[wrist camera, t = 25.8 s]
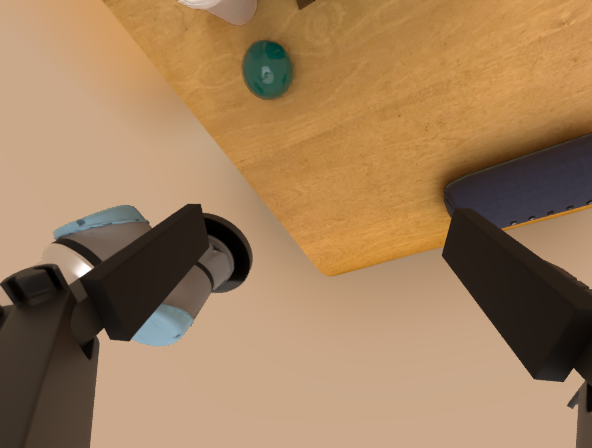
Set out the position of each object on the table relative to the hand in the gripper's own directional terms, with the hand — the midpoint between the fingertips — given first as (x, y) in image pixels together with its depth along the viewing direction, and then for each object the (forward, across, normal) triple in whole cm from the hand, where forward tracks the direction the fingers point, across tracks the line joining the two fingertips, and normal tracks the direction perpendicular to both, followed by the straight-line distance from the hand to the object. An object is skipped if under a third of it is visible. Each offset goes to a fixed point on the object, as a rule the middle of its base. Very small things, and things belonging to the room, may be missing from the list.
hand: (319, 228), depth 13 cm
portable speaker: (+35, +32, -6) cm, 48 cm away
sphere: (+35, -9, +11) cm, 38 cm away
